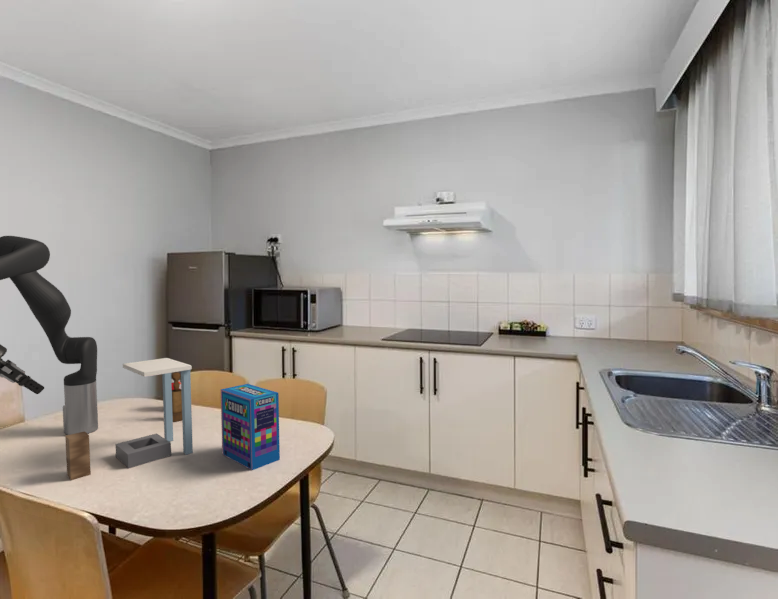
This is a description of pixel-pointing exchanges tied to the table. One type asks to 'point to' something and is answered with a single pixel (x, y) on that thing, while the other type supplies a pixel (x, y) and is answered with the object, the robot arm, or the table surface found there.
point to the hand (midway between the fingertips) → (37, 388)
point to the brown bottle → (176, 398)
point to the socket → (143, 450)
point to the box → (250, 425)
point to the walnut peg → (77, 455)
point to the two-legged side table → (170, 394)
